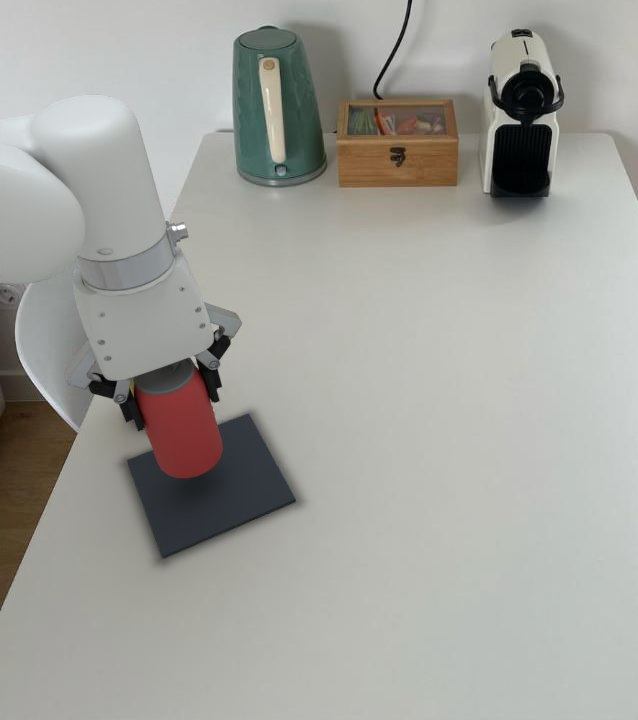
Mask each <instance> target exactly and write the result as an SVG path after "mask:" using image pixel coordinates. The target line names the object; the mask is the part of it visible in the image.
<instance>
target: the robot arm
mask: <svg viewBox="0 0 638 720" xmlns="http://www.w3.org/2000/svg"><path fill="white" fill-rule="evenodd" d="M159 196H160V195H159V193H158V188H157V185H156V182H155V178H154V174H153V171H152V168H151V163H150V160H149V156H148V153H147V149H146V146H145V142H144V138H143V134H142V131H141V127H140V124H139V121H138V118H137V116H136V114H135V113H134V111H133V110H132V109H131V107H130V106H129V105H128V104H127V103H125V102H124V101H123V100H121V99H119V98H116V97H114V96H110V95H106V94H99V93H98V94H92V93H91V94H90V93H89V94H80V95H74V96H69V97H65V98H62V99H59V100H57V101H54V102H52V103H50V104H47V106H45V107H43V108H42V109H40V110H39V111H37V112H32V113H27V114H21V115H17V116H10V117H5V118H0V284H2V285H3V284H4V285H29V284H36V283H40V282H43V281H47V280H49V279H50V280H51V279H53V277H56V276H58V275H60V274H61V273H63V271H65V270H66V269H68V268H69V267H70V266H71V265H72V264H73V263H74V262H75V263H76V266H77V267H76V268H75V269H74V271H73V273H72V275H71V280H72V289H73V294H74V300H75V304H76V308H77V311H78V314H79V317H80V322H81V324H82V327H83V330H84V333H85V336H86V339H87V340H86V341H85V343H83V345H82V346H81V348H80V349H79V351H78V352H77V354H76V355H75V356H74V358H73V359H72V360H71V362H70V363H69V364H68V366H67V368H65V370H64V372H63V375H64V378H65V381H66V383H67V385H68V386H71V387H74V388H76V389H81V390H83V391H89V392H90V393H91V394H93V395H96V396H100V397H104V398H107V399H111V400H113V403H115V404H117V405H118V406H119V408H120V411H121V413H122V416H123V418H124V421H125V423H128V422H131V421H133V423H134V425H135V427H136V431H137V432H138V433H139V432H141V431H144V429H145V426H144V423H143V421H142V418H141V415H140V412H139V410H138V407H137V404H136V402H135V399H134V397H133V394H132V392H131V389H130V384H131V380H132V377H135V376H138V375H141V374H144V373H147V372H149V371H152V370H155V369H158V368H161V367H164V366H167V365H169V364H172V363H175V362H178V361H181V360H183V359H186V358H189V357H190V358H191V357H195V361H196V365H197V368H198V369H199V371H200V372H201V374H202V376H203V377H204V380H205V384H206V387H207V391H208V394H209V397H210V401H211V403H214V404H216V403H219V402H220V401H221V399H220V396H219V393H218V389H220V388H222V387H223V384H222V379H221V377H220V373H219V368H220V366H221V360H222V358H223V356H224V355H225V354H226V352H227V351H228V349H229V348H230V347H231V345H232V339H234V338H235V336H236V335H237V334H238V332H239V331H240V329H241V327H242V325H243V321H242V319H241V317H240V316H239V315H238V313H237V312H235V311H232V310H228V309H225V308H222V307H220V306H216V305H213V304H211V303H208V302H205V301H204V299H203V296H202V293H201V290H200V288H199V285H198V283H197V280H196V278H195V276H194V274H193V272H192V268H191V267H190V264H189V261H188V259H187V257H186V255H185V253H184V251H183V250H182V248H181V247H180V244H178V243H180V242H181V240H184V239H188V238H189V236H190V235H189V233H188V229H187V226H186V224H185V222H184V221H182V222H177V223H175V222H172V223H170V222H169V220H166V218H165V215H164V211H163V208H162V204H161V200H160V197H159ZM212 324H213V325H216V326H218V328H217V329H216V330H214V329H213V326H212ZM95 364H96V365H97V366H98V369H99V370H100V372H101V373H100V372H95V371H94V372H90V371H91V370H92V368H93V367H94V365H95Z"/></svg>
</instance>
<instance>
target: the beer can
mask: <svg viewBox="0 0 638 720" xmlns="http://www.w3.org/2000/svg"><path fill="white" fill-rule="evenodd" d="M133 382H134V399H135V402H136V404H137V407H138V410H139V412H140V415H141V418H142V421H143V423H144V426H145V428H144V430H145V433H146V436H147V439H148V441H149V443H150V446H151V449H152V450H153V452H154V454H155V457H156V460H157V463H158V465H159V466H160V468H161V470H162V471H164V472H165V473H166V474H168V475H169V476H172V477H175V478H193V477H197V476H200V475H202V474H204V473H206V472H208V471H209V470H210V469H211V468H213V467H214V466H215V465H216V464H217V462H218V461H219V459H220V458H221V454H222V451H223V445H222V440H221V436H220V433H219V429H218V425H219V424H218V422H217V418H216V415H215V411H214V407H213V405H212V401H211V399H210V397H209V394H208V391H207V387H206V384H205V380H204V377H203V376H202V374H201V372H200V371H199V369H198V366H196V365H195V362H194V360H193V359H192V358H191V357H189V358H186V359H183V360H181V361H178V362H175V363H172V364H169V365H167V366H164V367H161V368H158V369H155V370H152V371H149V372H147V373H144V374H141V375H138V376H135V377H133Z"/></svg>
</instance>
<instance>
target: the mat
mask: <svg viewBox="0 0 638 720" xmlns="http://www.w3.org/2000/svg"><path fill="white" fill-rule="evenodd" d="M217 425H218V429H219V433H220V436H221V440H222V445H223V451H222V454H221V458H220V459H219V461H218V462H217V464H216V465H215V466H214V467H213V468H211V469H210V470H209V471H208V472H206V473H204V474H202V475H200V476H197V477H193V478H175V477H172V476H169V475H168V474H166V473H165V472H164V471H162V470H161V468H160V466H159V465H158V463H157V460H156V457H155V454H154V452H153V449H152V450H149V451H146V452H143V453H141V454H139V455H137V456H133V457H131V458H128V459H126V462H127V465H128V467H129V470H130V473H131V475H132V478H133V481H134V484H135V486H136V489H137V492H138V495H139V497H140V500H141V503H142V506H143V508H144V511H145V515H146V517H147V519H148V522H149V524H150V527H151V530H152V533H153V535H154V536H153V537H154V539H155V541H156V544H157V547H158V549H159V552H160V555H161V557H162V559H165V558H168V557H170V556H173V555H174V554H177V553H179V552H181V551H183V550H186V549H188V548H190V547H193V546H195V545H197V544H199V543H202V542H205V541H207V540H209V539H211V538H214V537H216V536H218V535H221V534H223V533H225V532H227V531H230V530H232V529H235V528H237V527H239V526H241V525H244V524H247V523H248V522H251V521H253V520H256V519H258V518H260V517H262V516H265V515H266V514H269V513H272V512H274V511H277V510H279V509H281V508H283V507H285V506H288V505H290V504H293V503H295V502H296V501H297V499H296V497H295V495H294V493H293V492H292V489H291V488H290V486H289V484H288V482H287V480H286V479H285V477H284V475H283V473H282V472H281V470H280V468H279V466H278V464H277V462H276V460H275V459H274V457H273V455H272V453H271V451H270V449H269V448H268V446H267V444H266V442H265V440H264V439H263V436H262V435H261V433H260V431H259V429H258V427H257V426H256V424H255V421H254V420H253V418H252V416H251V414H250V413H249V412H248V413H245V414H243V415H241V416H238V417H235V418H233V419H230V420H228V421H225V422H222V423H219V424H217Z"/></svg>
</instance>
